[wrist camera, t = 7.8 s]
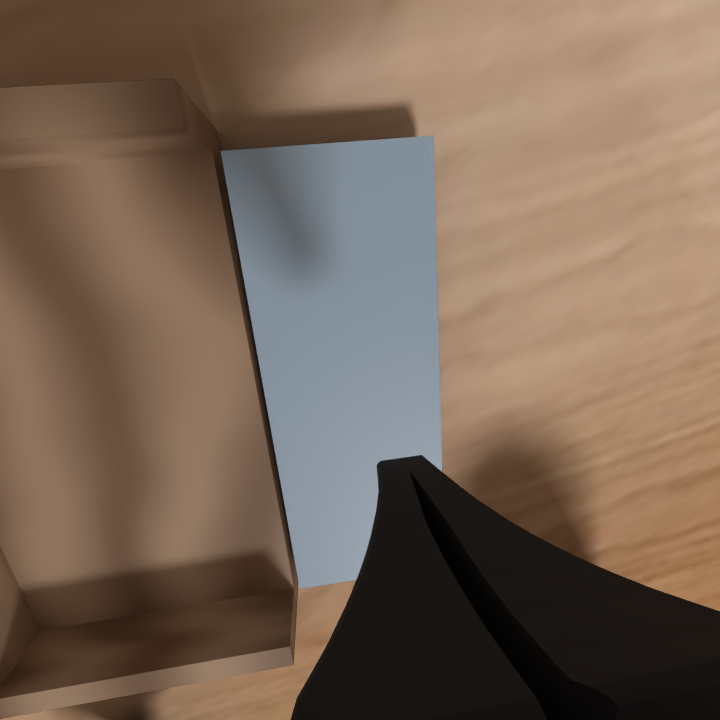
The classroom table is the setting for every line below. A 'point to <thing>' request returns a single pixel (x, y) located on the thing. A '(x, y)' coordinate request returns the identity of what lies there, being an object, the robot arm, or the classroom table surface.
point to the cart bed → (129, 408)
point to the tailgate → (341, 327)
